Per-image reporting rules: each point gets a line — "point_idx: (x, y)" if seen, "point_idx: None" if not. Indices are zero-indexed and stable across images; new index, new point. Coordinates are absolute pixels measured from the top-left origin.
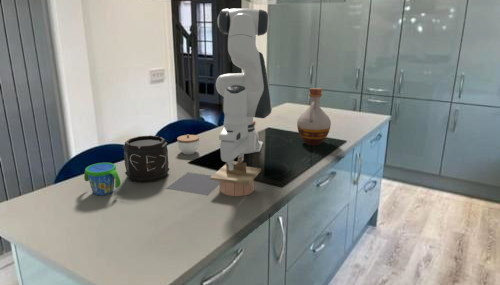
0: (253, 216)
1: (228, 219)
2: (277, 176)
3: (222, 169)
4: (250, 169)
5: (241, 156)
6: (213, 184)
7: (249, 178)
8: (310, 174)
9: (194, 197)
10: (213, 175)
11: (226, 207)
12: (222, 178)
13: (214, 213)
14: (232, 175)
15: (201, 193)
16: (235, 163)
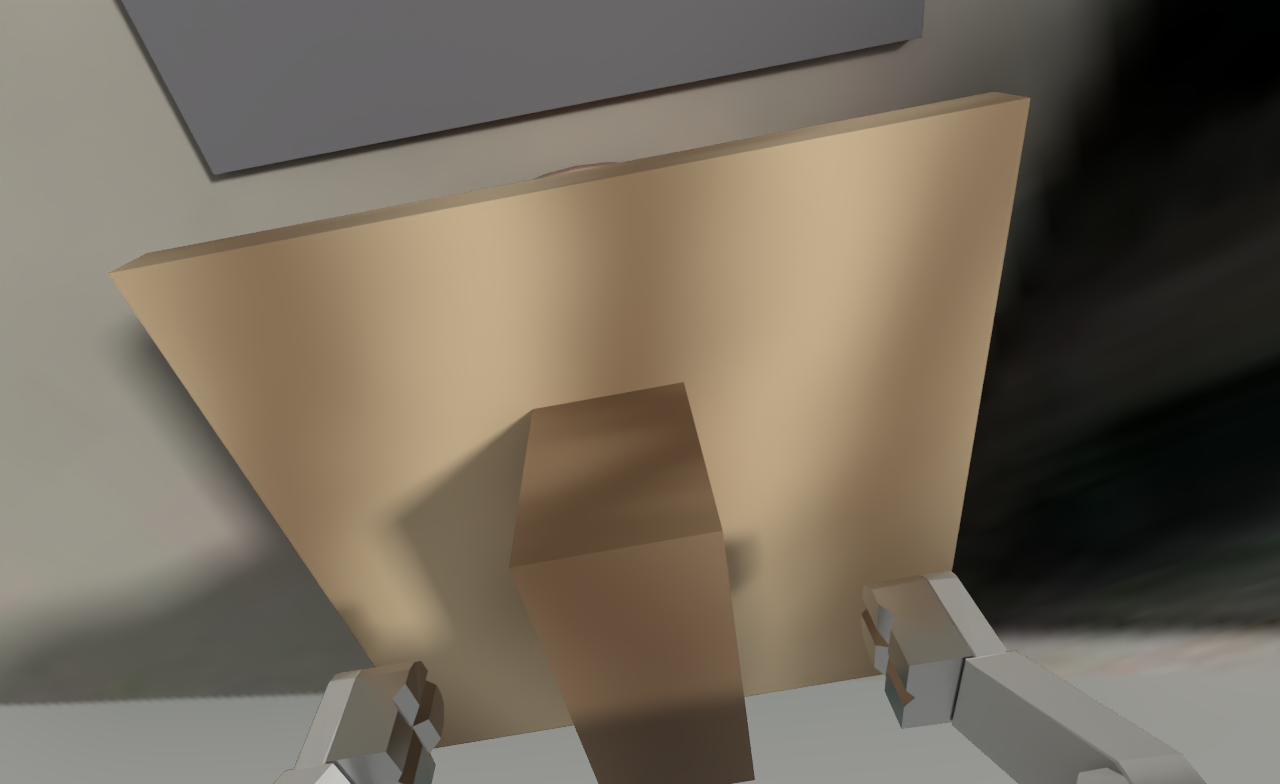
0: (280, 690)
1: (77, 606)
2: (1099, 525)
3: (655, 239)
4: (853, 601)
5: (969, 716)
6: (571, 3)
7: (549, 712)
8: (1172, 674)
9: (11, 3)
10: (240, 276)
11: (211, 499)
12: (279, 486)
13: (21, 480)
14: (501, 535)
15: (167, 45)
16: (611, 700)
